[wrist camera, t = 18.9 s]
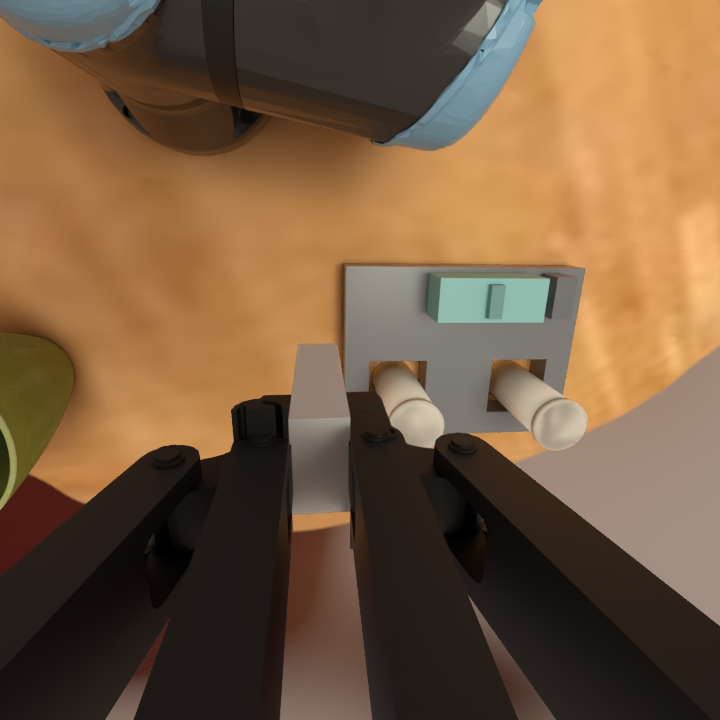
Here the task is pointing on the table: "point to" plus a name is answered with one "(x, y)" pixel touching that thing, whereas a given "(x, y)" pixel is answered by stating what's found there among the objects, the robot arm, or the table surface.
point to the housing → (453, 338)
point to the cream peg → (537, 406)
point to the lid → (487, 297)
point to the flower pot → (29, 403)
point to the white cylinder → (407, 404)
